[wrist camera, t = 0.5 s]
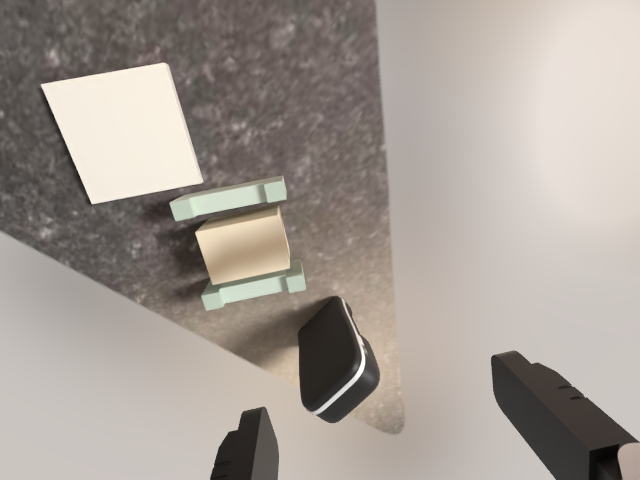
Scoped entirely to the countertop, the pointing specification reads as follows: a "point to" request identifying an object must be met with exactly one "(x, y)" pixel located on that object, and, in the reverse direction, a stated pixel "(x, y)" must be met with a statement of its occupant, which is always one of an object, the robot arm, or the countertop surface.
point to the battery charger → (335, 363)
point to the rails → (235, 198)
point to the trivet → (125, 132)
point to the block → (244, 244)
